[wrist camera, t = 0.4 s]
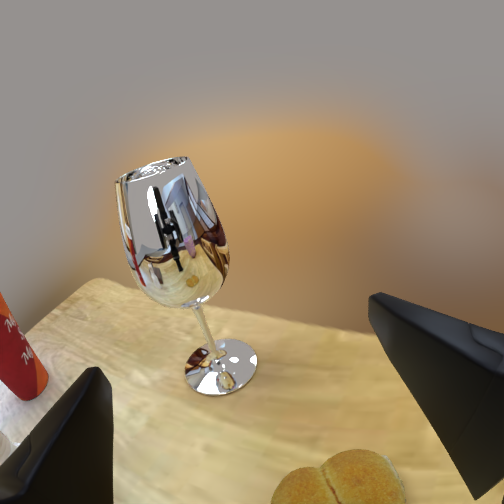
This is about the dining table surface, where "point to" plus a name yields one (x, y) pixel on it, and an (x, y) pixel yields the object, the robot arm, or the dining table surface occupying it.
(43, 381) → the coffee cup
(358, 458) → the bread roll
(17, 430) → the dining table surface
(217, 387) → the wineglass
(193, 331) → the dining table surface
